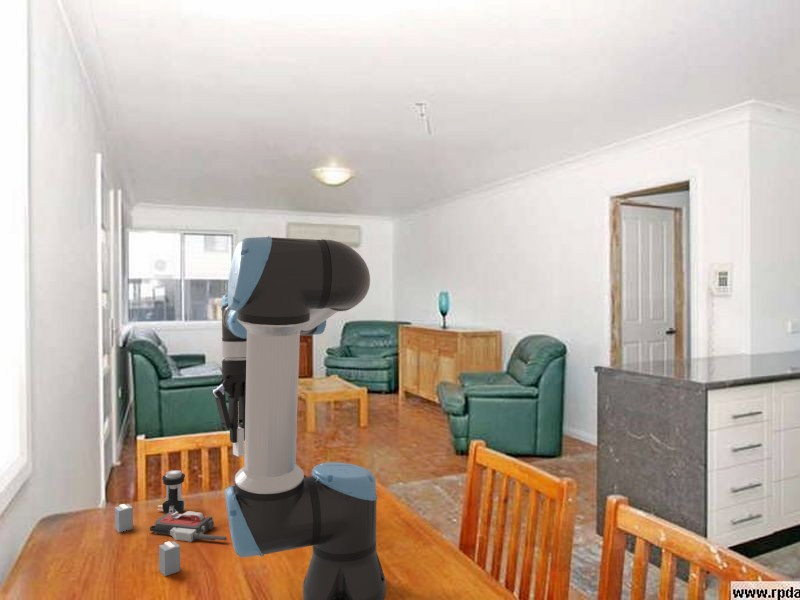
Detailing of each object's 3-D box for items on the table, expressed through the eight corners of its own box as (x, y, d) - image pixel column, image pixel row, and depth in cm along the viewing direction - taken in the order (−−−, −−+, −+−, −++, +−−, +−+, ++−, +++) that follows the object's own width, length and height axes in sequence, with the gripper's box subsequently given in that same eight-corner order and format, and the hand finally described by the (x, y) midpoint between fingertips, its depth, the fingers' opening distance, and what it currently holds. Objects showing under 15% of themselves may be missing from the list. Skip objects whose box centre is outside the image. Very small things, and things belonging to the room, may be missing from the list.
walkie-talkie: (142, 538, 126) (223, 547, 122) (142, 519, 126) (223, 527, 122) (166, 522, 135) (243, 530, 131) (166, 504, 135) (243, 511, 131)
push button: (153, 515, 138) (153, 475, 138) (162, 507, 143) (162, 468, 143) (180, 516, 138) (179, 475, 138) (188, 507, 143) (188, 468, 143)
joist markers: (180, 570, 111) (180, 544, 111) (165, 576, 109) (164, 549, 109) (128, 524, 133) (128, 502, 133) (114, 528, 131) (114, 506, 130)
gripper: (254, 354, 143) (254, 446, 143) (205, 358, 134) (205, 457, 134) (270, 357, 137) (270, 452, 138) (219, 362, 128) (220, 464, 129)
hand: (238, 454), depth 136 cm, fingers closed
